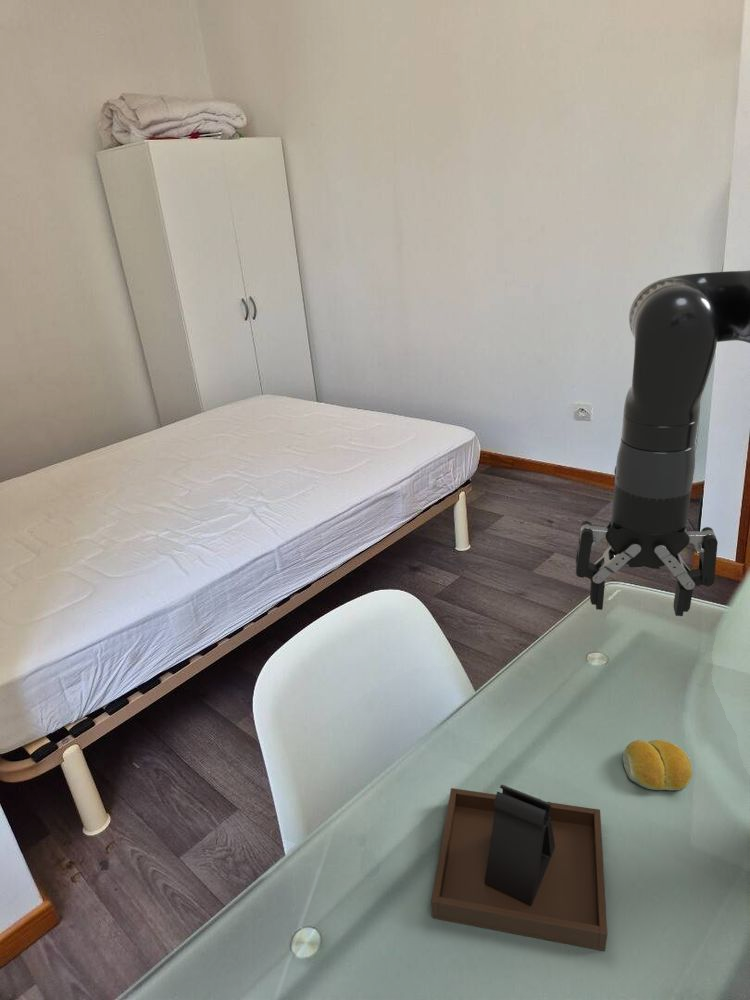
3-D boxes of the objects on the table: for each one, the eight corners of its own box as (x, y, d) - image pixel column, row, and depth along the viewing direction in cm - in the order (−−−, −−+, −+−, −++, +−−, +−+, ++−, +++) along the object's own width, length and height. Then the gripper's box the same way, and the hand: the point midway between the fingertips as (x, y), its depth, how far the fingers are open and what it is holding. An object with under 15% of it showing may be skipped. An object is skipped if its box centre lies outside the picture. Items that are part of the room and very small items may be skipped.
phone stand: (531, 907, 81) (533, 838, 76) (483, 884, 84) (483, 816, 79) (555, 847, 88) (559, 780, 83) (511, 828, 91) (512, 762, 86)
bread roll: (699, 793, 95) (703, 772, 93) (632, 793, 95) (635, 773, 94) (678, 748, 102) (682, 727, 100) (617, 748, 103) (619, 728, 101)
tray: (598, 825, 91) (600, 809, 90) (605, 951, 77) (607, 934, 75) (451, 803, 96) (451, 787, 95) (432, 918, 82) (431, 901, 80)
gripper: (582, 493, 70) (573, 623, 77) (735, 498, 67) (711, 634, 74) (581, 464, 77) (573, 586, 84) (720, 468, 73) (699, 595, 80)
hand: (638, 609), depth 79 cm, fingers open, 8 cm apart
